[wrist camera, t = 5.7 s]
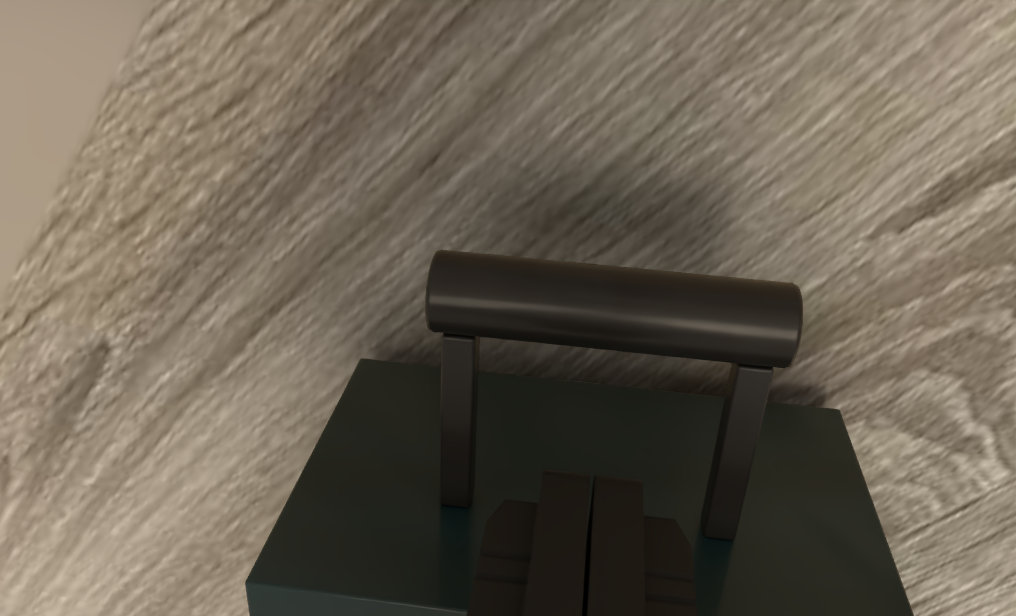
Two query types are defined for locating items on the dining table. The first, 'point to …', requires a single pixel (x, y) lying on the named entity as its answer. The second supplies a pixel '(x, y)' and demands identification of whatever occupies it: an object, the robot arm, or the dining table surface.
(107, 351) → the dining table surface
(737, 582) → the drawer
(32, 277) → the dining table surface
